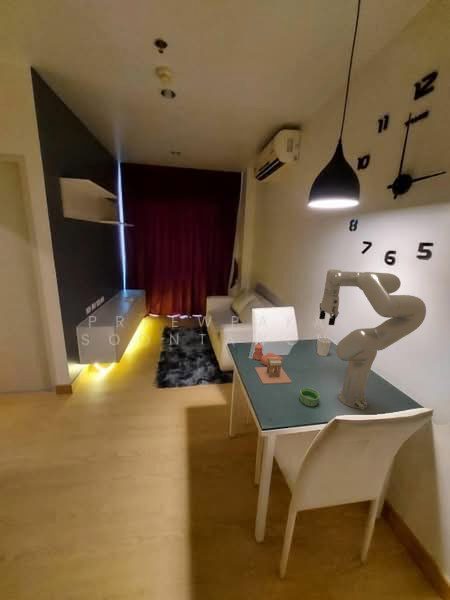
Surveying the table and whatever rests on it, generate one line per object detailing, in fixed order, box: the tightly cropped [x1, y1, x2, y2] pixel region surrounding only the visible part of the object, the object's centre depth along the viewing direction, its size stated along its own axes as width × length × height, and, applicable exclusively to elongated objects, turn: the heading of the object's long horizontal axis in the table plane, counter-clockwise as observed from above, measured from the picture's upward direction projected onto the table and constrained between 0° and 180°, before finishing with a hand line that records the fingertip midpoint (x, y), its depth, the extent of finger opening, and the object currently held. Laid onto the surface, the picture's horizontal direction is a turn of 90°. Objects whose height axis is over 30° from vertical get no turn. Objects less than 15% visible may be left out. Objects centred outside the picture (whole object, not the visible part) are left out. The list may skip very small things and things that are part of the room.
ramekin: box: [299, 387, 321, 407], centre depth 118 cm, size 9×9×4 cm
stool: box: [266, 357, 283, 377], centre depth 137 cm, size 6×6×9 cm
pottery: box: [252, 342, 284, 369], centre depth 153 cm, size 18×10×10 cm, turn 46°
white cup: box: [316, 337, 332, 357], centre depth 167 cm, size 8×8×10 cm
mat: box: [254, 366, 293, 385], centre depth 138 cm, size 16×16×1 cm
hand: (326, 321), depth 140 cm, fingers open, 9 cm apart
